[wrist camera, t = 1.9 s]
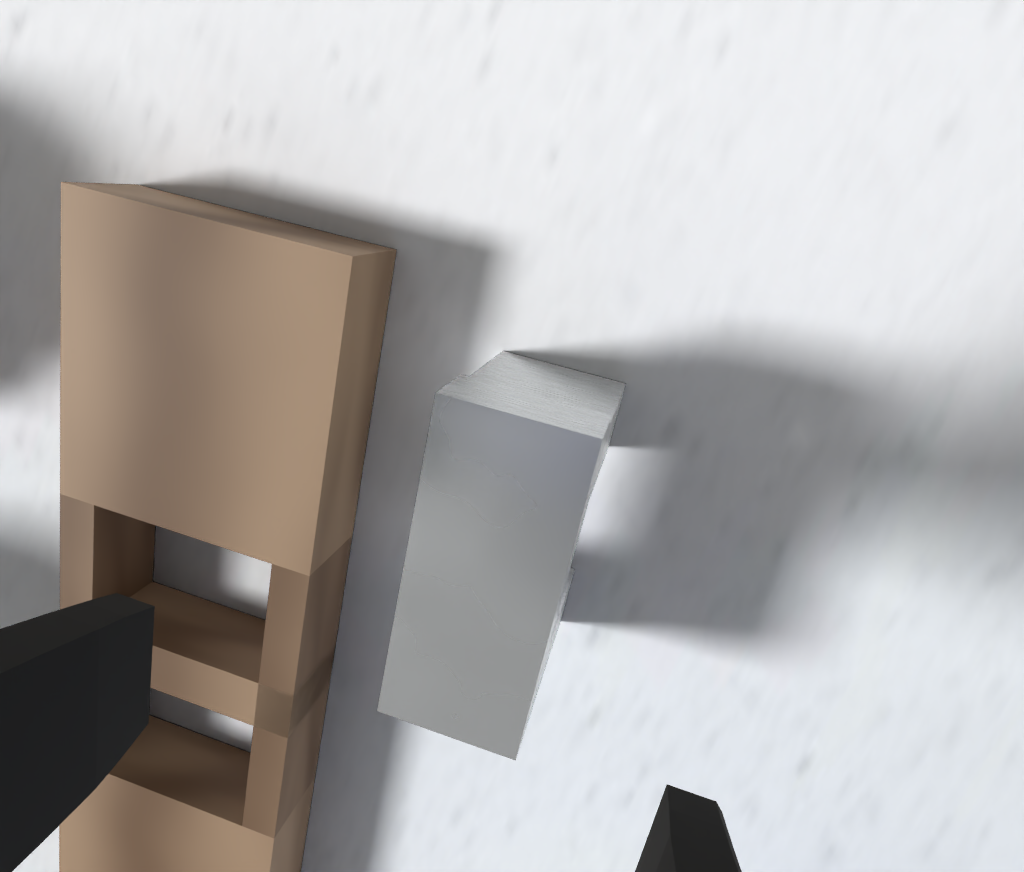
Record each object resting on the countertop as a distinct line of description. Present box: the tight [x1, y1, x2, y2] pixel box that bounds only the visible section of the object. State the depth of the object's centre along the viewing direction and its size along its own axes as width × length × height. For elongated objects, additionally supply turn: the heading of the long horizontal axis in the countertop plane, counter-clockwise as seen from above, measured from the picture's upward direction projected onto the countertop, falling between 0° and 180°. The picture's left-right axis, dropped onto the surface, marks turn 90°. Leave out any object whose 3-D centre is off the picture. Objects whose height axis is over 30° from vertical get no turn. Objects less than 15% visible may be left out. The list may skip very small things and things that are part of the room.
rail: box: [59, 182, 396, 872], centre depth 21 cm, size 7×24×2 cm, turn 168°
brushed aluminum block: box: [377, 351, 626, 760], centre depth 16 cm, size 3×7×5 cm, turn 168°
